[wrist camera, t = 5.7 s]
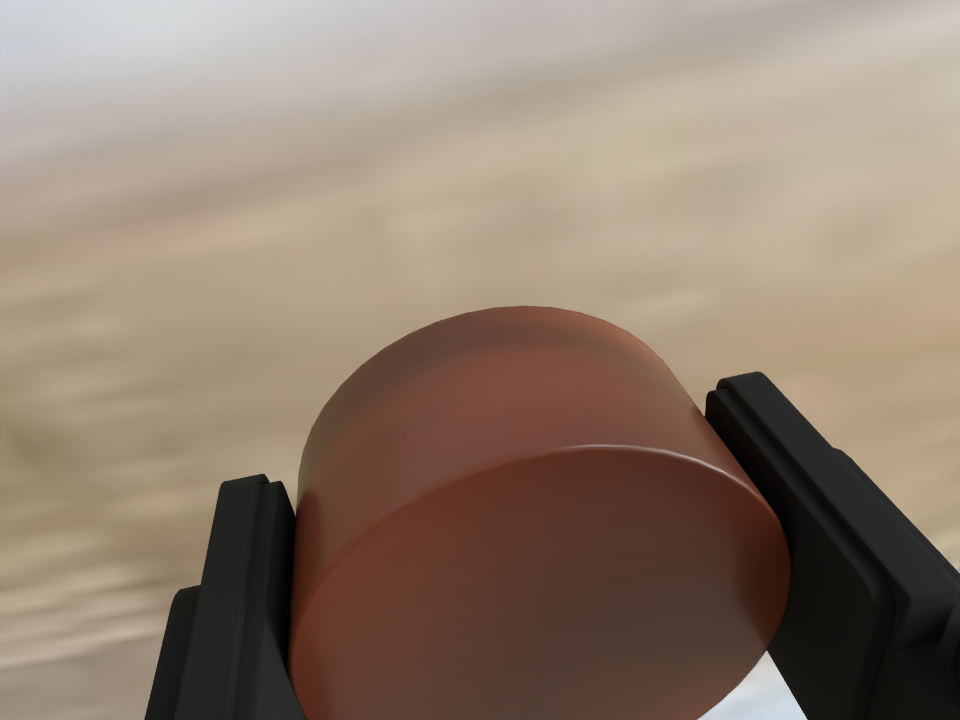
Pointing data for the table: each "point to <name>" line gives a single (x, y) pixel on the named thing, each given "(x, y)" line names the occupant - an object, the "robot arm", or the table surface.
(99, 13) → the table surface
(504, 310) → the reddish-brown squat cylinder
